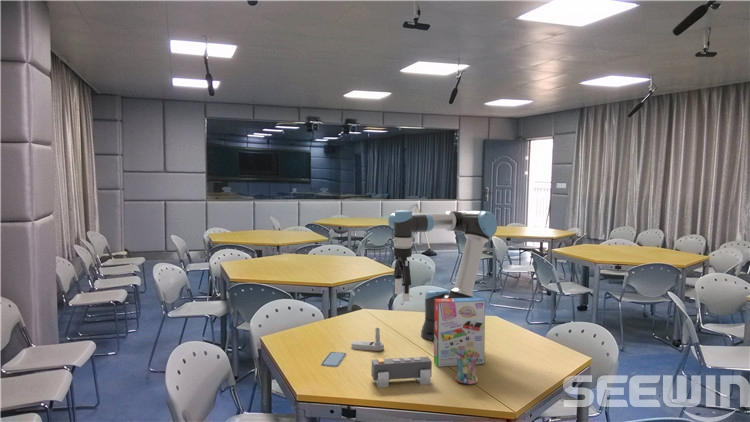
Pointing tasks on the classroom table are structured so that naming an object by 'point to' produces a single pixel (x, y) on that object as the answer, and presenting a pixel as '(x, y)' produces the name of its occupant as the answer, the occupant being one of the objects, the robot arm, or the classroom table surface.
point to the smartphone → (333, 359)
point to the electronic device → (369, 343)
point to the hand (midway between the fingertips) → (401, 297)
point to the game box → (458, 329)
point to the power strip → (401, 367)
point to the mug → (466, 366)
